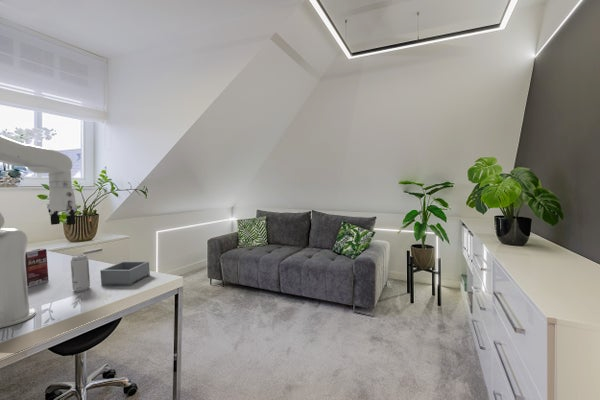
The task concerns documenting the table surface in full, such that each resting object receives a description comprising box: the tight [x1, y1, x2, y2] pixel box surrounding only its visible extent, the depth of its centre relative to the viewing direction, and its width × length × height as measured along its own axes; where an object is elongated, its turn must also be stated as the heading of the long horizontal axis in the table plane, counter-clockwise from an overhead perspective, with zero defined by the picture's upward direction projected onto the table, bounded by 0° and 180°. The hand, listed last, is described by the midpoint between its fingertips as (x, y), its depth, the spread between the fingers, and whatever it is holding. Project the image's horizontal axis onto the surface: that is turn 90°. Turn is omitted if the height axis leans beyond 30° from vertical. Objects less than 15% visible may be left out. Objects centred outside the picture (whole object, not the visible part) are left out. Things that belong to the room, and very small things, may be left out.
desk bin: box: [100, 261, 151, 287], centre depth 132 cm, size 14×14×7 cm
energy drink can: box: [70, 254, 91, 293], centre depth 121 cm, size 6×6×15 cm
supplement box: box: [25, 248, 49, 288], centre depth 130 cm, size 9×5×16 cm, turn 168°
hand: (63, 224), depth 122 cm, fingers open, 9 cm apart
